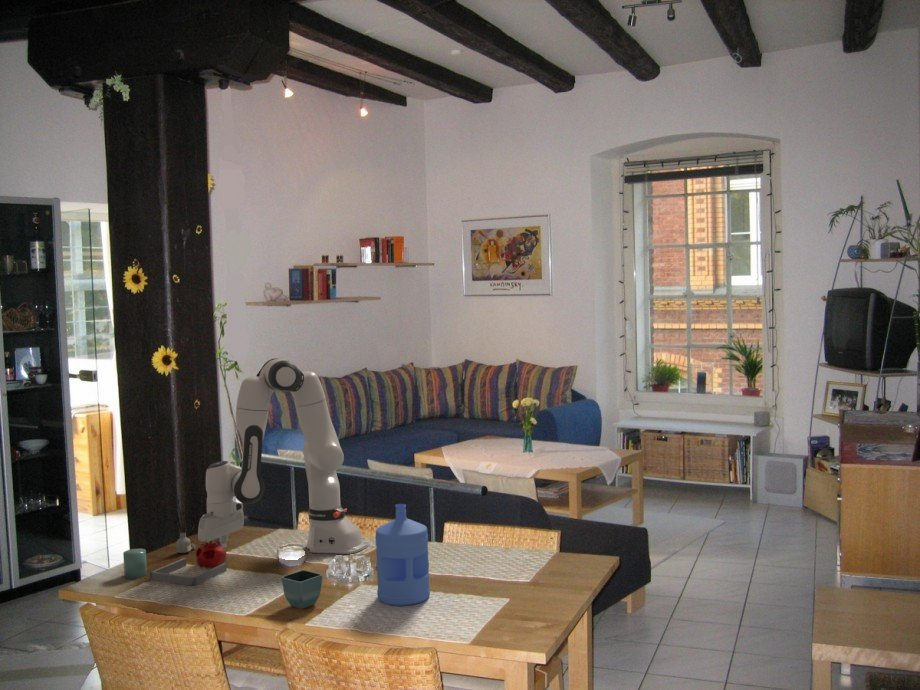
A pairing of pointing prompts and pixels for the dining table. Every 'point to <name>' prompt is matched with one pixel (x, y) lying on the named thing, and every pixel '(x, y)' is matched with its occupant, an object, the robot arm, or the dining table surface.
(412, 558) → the water jug
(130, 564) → the rounded teal cylinder
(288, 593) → the flower pot
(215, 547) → the pomegranate
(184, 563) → the grey shallow tray frame
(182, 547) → the reed diffuser
